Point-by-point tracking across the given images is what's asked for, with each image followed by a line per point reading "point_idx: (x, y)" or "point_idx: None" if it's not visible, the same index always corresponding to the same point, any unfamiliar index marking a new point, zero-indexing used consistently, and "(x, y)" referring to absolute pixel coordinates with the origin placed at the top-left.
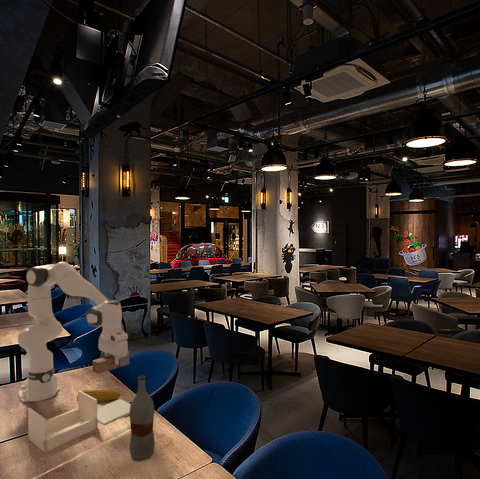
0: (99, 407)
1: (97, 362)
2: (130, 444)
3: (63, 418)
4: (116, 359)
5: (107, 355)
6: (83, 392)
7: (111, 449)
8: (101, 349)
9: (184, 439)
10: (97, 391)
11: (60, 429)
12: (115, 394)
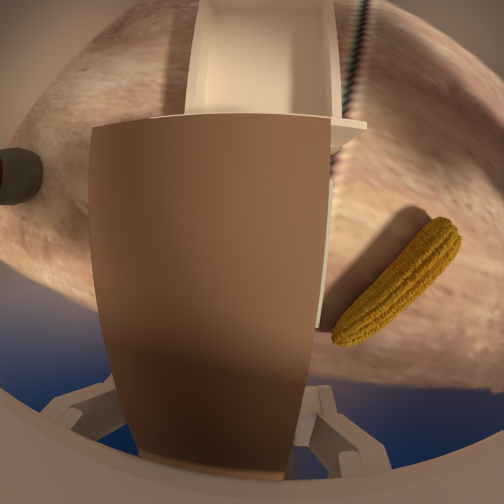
0: (327, 238)
1: (114, 125)
2: (14, 148)
3: (328, 83)
4: (82, 397)
5: (335, 446)
6: (445, 243)
7: (81, 131)
8: (471, 465)
9: (19, 269)
10: (407, 285)
11: (298, 69)
12: (340, 327)
